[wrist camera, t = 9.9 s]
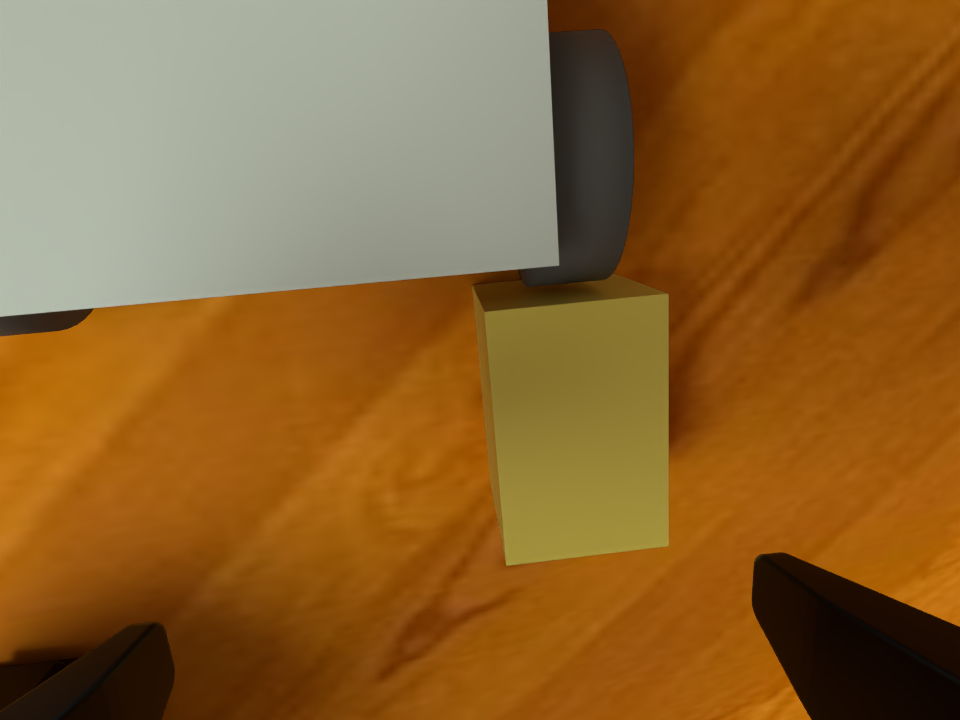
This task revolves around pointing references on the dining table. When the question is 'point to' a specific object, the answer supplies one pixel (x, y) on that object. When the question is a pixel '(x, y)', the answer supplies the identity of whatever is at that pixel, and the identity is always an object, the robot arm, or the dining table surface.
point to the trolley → (300, 149)
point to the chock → (576, 415)
